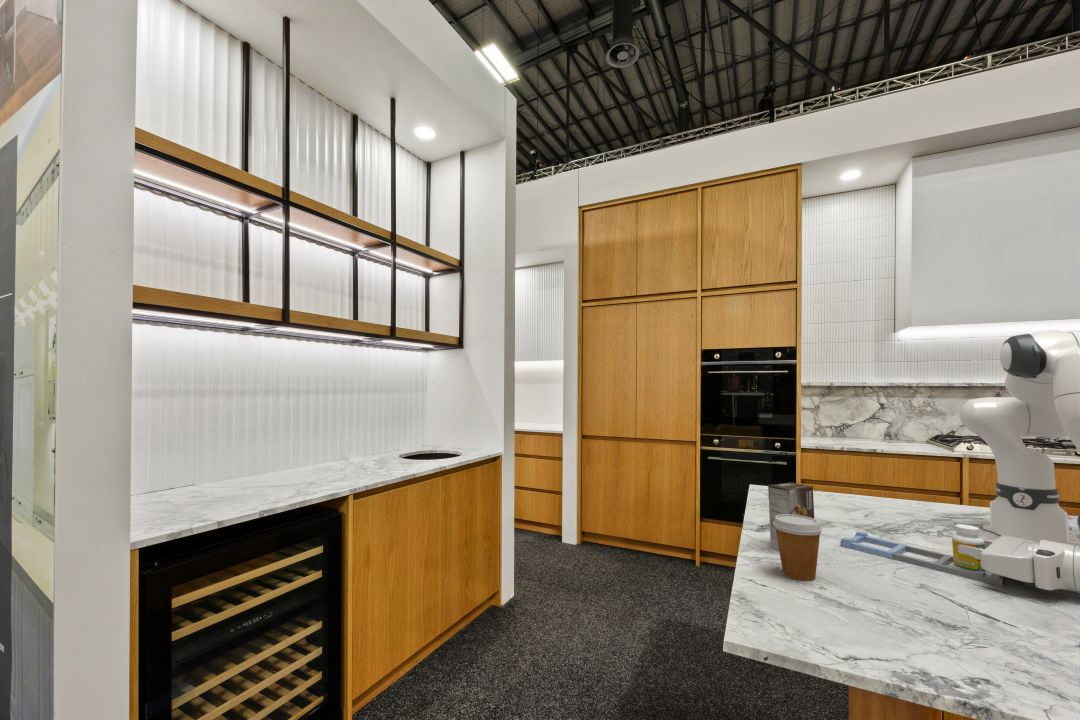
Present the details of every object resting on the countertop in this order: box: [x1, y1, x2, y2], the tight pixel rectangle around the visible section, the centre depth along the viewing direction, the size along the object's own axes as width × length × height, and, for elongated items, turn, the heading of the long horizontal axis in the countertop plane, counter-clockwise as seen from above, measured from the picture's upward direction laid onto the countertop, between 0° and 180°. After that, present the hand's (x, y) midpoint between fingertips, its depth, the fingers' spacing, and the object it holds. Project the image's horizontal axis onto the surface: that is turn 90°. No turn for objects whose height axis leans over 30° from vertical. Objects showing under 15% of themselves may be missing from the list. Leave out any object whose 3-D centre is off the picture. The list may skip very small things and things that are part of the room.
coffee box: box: [767, 482, 815, 551], centre depth 116 cm, size 9×6×16 cm
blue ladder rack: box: [839, 530, 1005, 587], centre depth 109 cm, size 11×30×2 cm, turn 35°
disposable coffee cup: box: [773, 514, 823, 582], centre depth 100 cm, size 10×10×12 cm
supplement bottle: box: [951, 523, 987, 575], centre depth 102 cm, size 5×5×10 cm
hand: (962, 544), depth 103 cm, fingers closed on supplement bottle, 5 cm apart
